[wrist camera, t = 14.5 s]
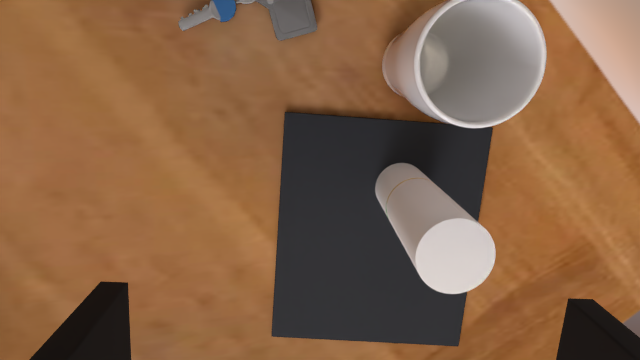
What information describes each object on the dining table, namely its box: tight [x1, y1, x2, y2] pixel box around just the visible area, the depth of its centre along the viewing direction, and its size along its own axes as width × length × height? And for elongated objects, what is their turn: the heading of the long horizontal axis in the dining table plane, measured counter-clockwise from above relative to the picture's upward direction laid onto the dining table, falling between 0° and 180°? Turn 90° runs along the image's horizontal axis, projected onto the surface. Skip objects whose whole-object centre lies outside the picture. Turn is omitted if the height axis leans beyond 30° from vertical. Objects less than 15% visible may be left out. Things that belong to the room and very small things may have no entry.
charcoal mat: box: [272, 112, 493, 346], centre depth 41 cm, size 20×17×1 cm
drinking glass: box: [382, 0, 547, 128], centre depth 31 cm, size 7×7×15 cm
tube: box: [375, 163, 495, 294], centre depth 33 cm, size 4×4×15 cm
